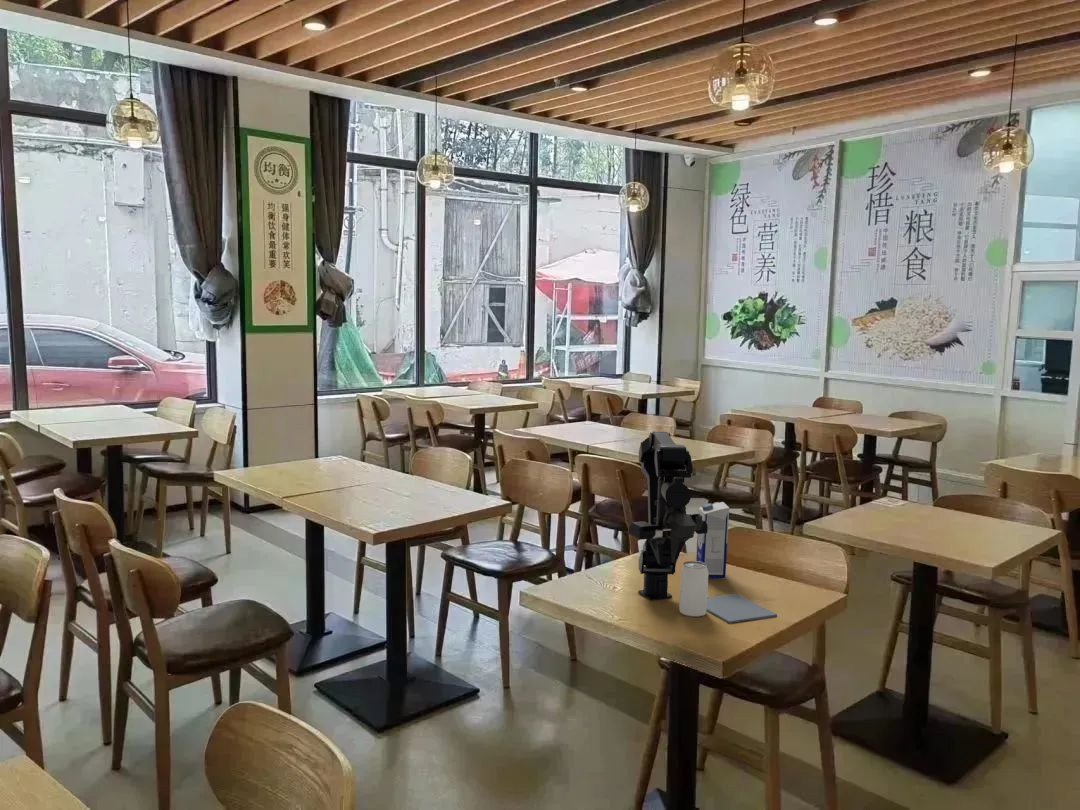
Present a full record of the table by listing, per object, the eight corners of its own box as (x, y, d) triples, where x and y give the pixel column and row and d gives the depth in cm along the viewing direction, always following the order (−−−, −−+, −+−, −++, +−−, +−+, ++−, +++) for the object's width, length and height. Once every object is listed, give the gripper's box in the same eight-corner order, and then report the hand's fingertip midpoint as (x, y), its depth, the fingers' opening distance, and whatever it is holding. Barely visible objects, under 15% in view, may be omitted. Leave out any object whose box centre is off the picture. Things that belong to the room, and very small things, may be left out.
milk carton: (725, 578, 237) (729, 506, 234) (701, 578, 236) (704, 506, 234) (719, 570, 244) (723, 501, 241) (695, 570, 243) (699, 500, 241)
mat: (690, 601, 217) (690, 599, 217) (736, 595, 223) (736, 593, 223) (729, 623, 203) (729, 621, 203) (776, 616, 208) (777, 614, 208)
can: (679, 607, 213) (682, 559, 212) (706, 609, 212) (709, 561, 210) (678, 616, 207) (680, 567, 205) (706, 618, 205) (708, 569, 204)
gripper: (653, 508, 192) (650, 577, 193) (723, 503, 199) (720, 569, 201) (628, 498, 202) (625, 563, 203) (695, 493, 209) (692, 556, 211)
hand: (666, 563), depth 204 cm, fingers open, 4 cm apart
